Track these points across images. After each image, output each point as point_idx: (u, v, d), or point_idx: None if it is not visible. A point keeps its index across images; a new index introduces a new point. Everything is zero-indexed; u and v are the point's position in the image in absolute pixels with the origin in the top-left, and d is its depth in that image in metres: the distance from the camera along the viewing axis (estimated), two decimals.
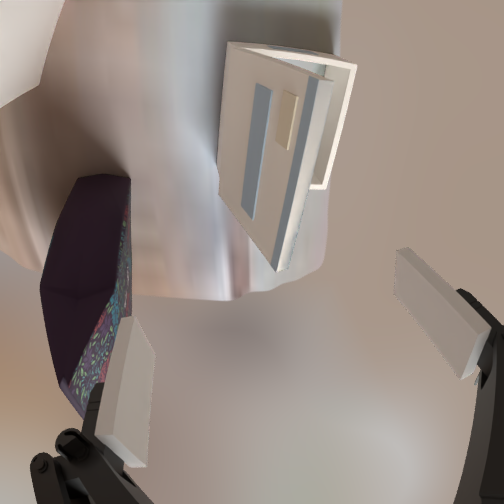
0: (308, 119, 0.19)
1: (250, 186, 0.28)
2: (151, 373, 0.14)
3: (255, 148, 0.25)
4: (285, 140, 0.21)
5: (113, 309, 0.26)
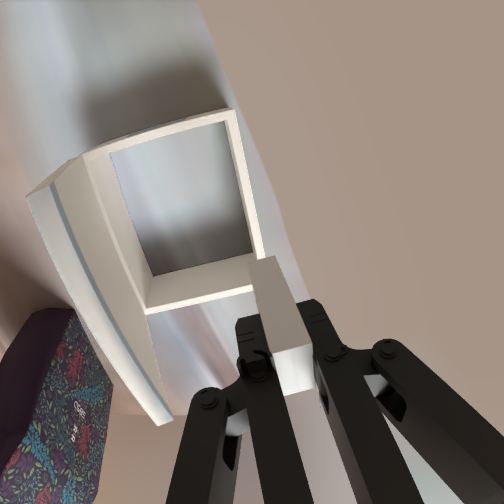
0: None
1: None
2: None
3: None
4: None
5: (33, 448, 0.19)
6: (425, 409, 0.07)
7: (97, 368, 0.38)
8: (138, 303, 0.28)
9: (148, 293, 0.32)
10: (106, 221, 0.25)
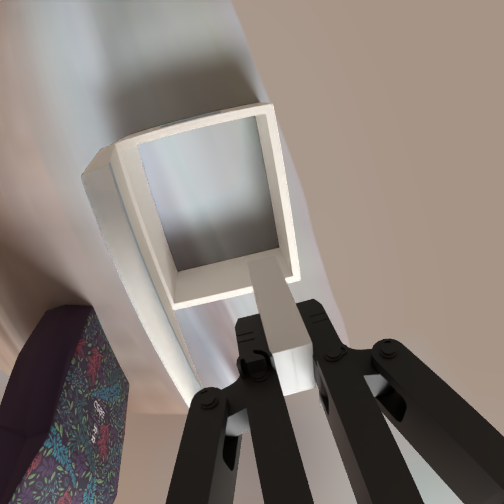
0: None
1: None
2: None
3: None
4: None
5: (55, 451, 0.19)
6: (425, 409, 0.07)
7: (114, 366, 0.38)
8: (167, 298, 0.28)
9: (175, 288, 0.32)
10: (137, 213, 0.25)
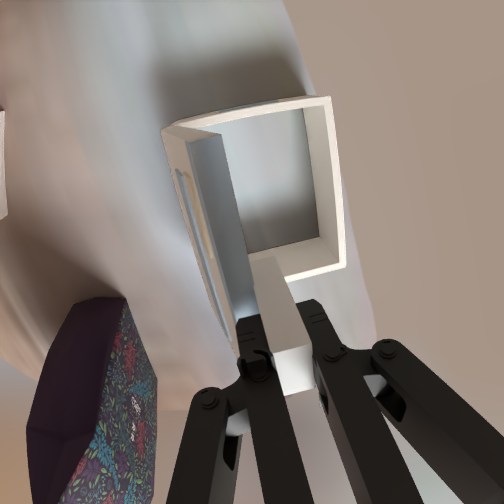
0: None
1: (216, 303, 0.21)
2: None
3: (201, 255, 0.20)
4: (205, 245, 0.15)
5: (99, 452, 0.20)
6: (425, 409, 0.07)
7: (145, 361, 0.39)
8: None
9: None
10: None
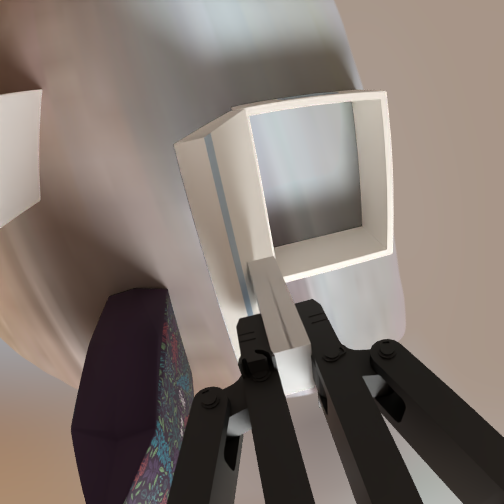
0: None
1: None
2: None
3: None
4: None
5: (159, 450, 0.20)
6: (424, 409, 0.07)
7: (183, 354, 0.39)
8: None
9: None
10: None
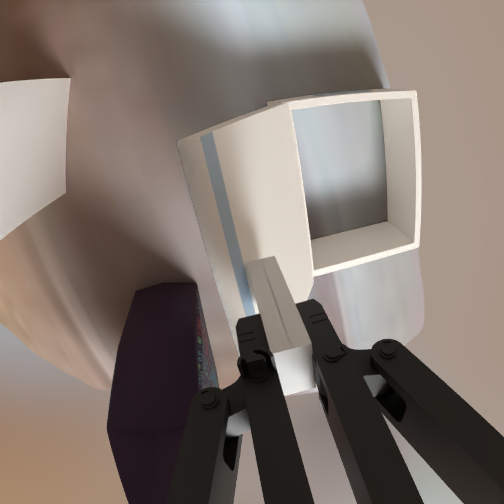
0: None
1: None
2: None
3: None
4: None
5: None
6: (425, 409, 0.07)
7: (210, 350, 0.39)
8: (309, 266, 0.28)
9: None
10: None
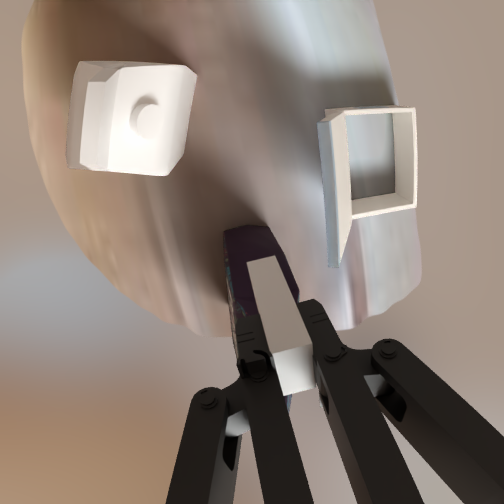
0: (320, 149, 0.30)
1: None
2: None
3: None
4: None
5: None
6: (425, 409, 0.07)
7: None
8: (351, 209, 0.45)
9: None
10: None
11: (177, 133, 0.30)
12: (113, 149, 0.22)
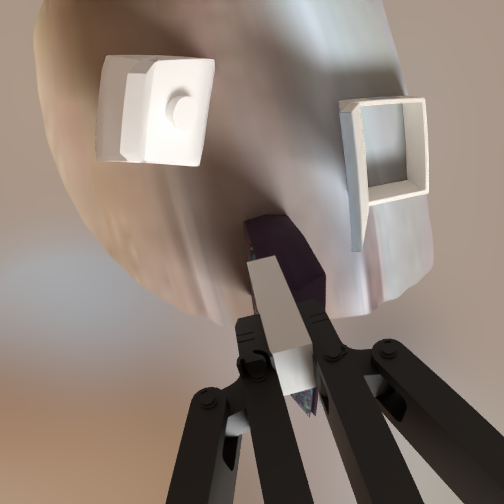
0: (343, 138, 0.31)
1: None
2: None
3: None
4: None
5: None
6: (425, 409, 0.07)
7: None
8: None
9: None
10: None
11: None
12: (150, 139, 0.23)
